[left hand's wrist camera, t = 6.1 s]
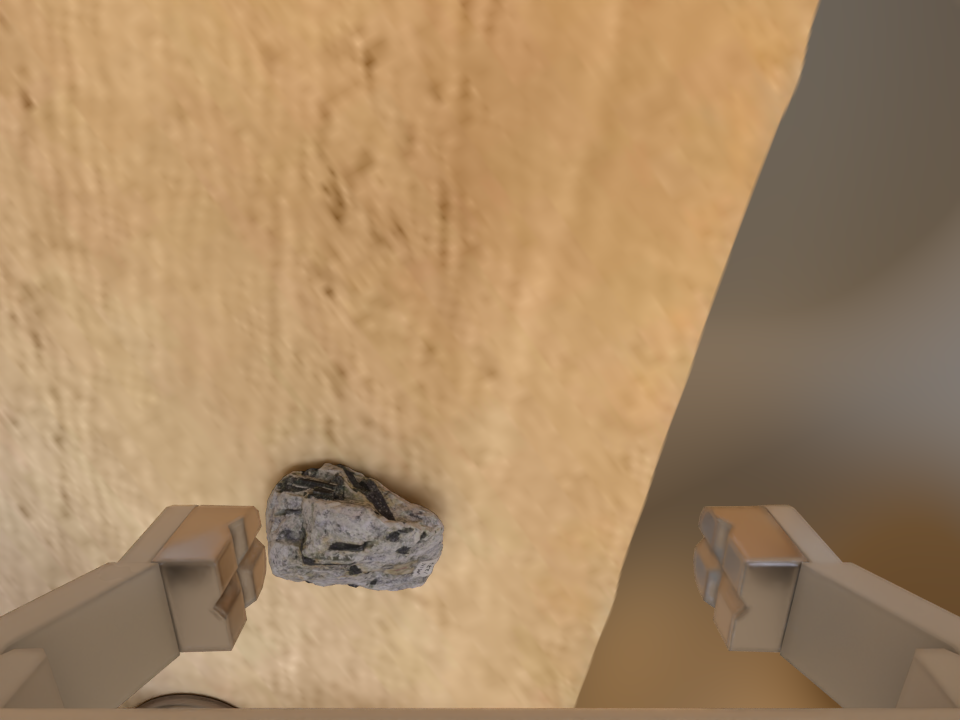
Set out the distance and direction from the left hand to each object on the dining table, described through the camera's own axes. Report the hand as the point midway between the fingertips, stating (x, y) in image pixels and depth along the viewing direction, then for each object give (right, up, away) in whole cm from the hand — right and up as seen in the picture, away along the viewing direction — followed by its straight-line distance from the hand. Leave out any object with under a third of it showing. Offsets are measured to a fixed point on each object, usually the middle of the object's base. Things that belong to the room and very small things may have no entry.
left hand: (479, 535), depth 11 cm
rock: (-10, -10, +39) cm, 42 cm away
